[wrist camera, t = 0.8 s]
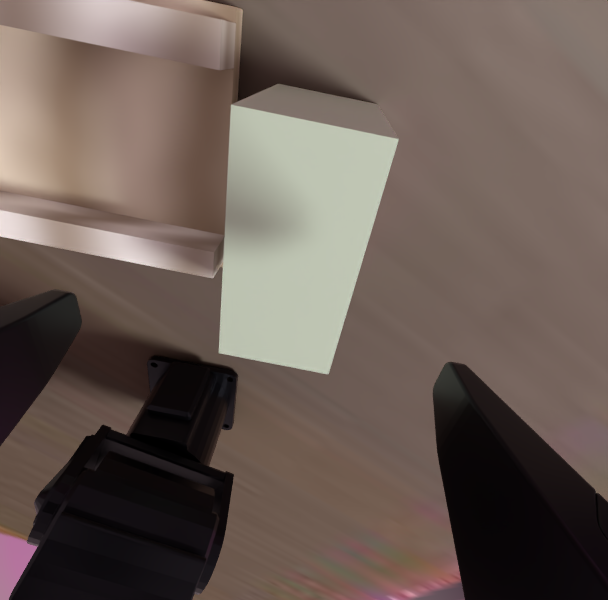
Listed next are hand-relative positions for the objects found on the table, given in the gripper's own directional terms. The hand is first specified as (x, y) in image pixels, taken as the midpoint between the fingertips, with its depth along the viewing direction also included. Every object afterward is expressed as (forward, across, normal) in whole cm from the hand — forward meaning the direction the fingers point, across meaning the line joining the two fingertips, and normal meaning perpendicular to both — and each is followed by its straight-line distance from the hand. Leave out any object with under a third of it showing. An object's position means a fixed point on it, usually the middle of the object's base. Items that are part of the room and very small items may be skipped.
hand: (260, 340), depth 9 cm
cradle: (+12, +11, -1) cm, 16 cm away
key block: (+12, 0, 0) cm, 12 cm away
